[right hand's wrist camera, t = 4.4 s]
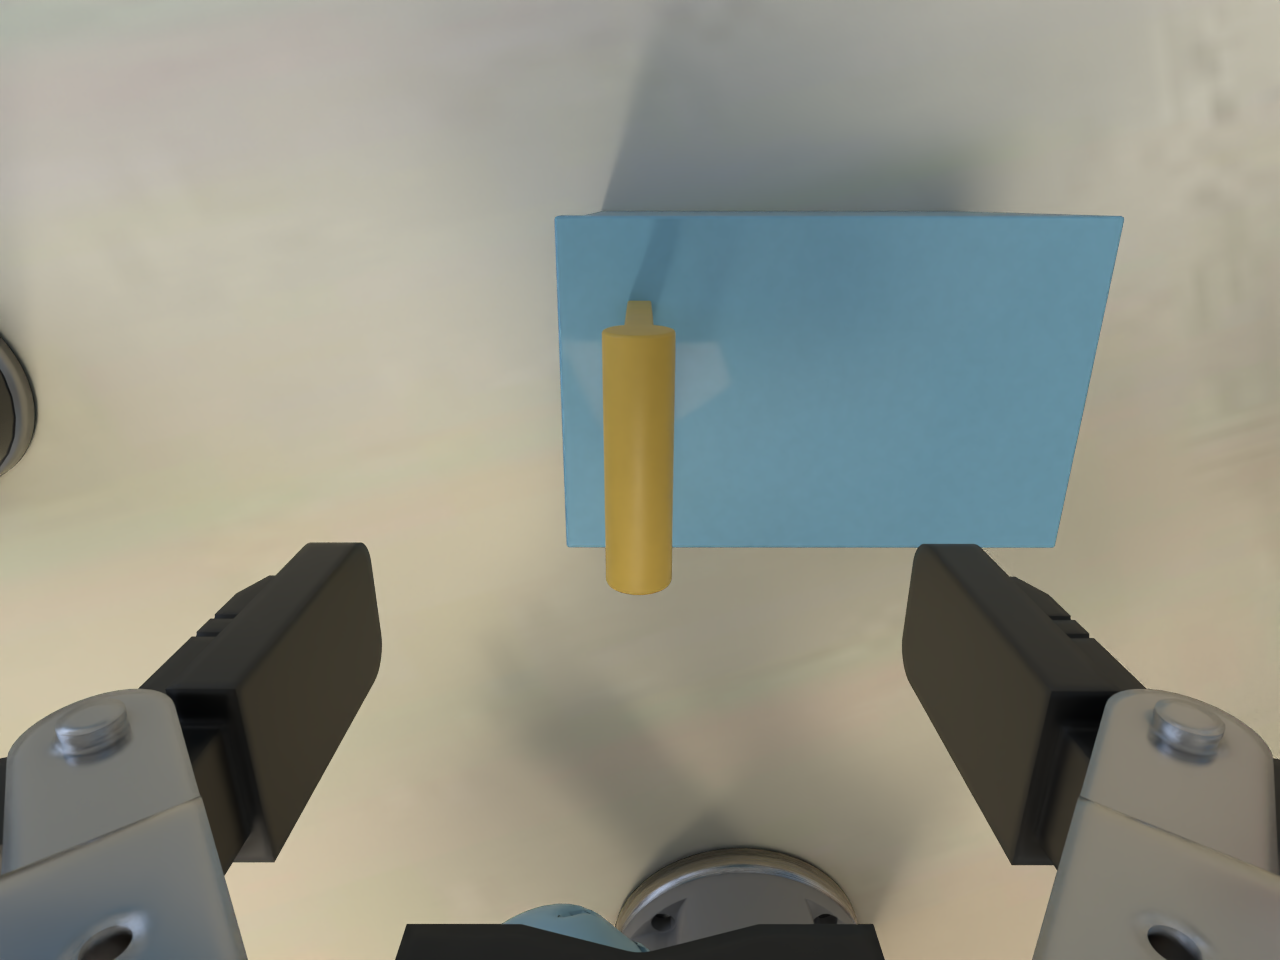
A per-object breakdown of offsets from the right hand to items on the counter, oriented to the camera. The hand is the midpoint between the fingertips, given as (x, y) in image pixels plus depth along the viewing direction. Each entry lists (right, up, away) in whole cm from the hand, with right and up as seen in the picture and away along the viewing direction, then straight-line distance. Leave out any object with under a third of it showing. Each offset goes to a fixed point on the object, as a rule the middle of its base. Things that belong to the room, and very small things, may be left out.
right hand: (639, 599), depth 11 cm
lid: (+6, +5, +13) cm, 15 cm away
